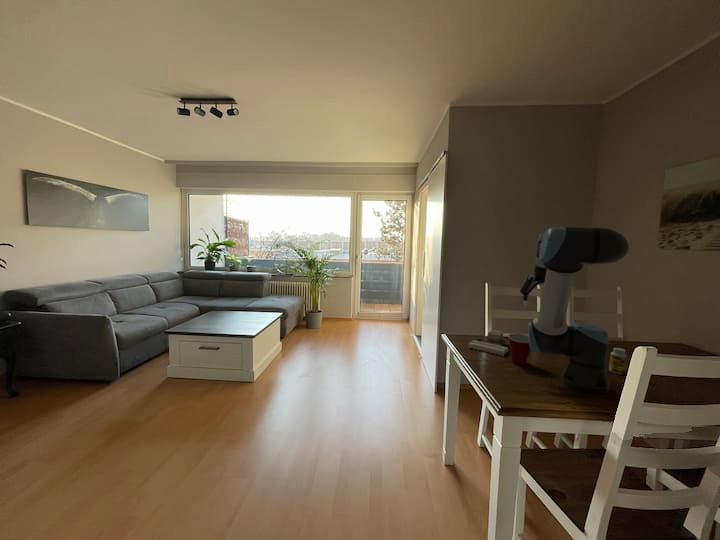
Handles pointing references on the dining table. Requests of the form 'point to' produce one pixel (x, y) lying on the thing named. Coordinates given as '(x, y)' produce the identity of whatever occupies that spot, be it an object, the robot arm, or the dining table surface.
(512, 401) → the dining table surface
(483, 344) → the trap deck
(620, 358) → the supplement bottle
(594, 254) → the robot arm
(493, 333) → the sage block
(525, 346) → the plastic cup
